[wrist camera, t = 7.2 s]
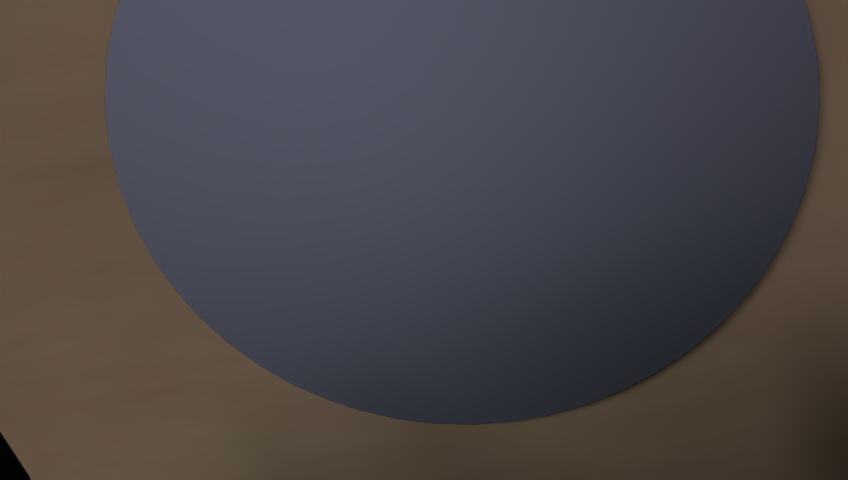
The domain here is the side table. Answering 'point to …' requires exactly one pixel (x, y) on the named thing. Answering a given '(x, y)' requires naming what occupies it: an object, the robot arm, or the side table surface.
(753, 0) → the coaster
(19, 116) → the side table surface
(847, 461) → the side table surface
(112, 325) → the side table surface
